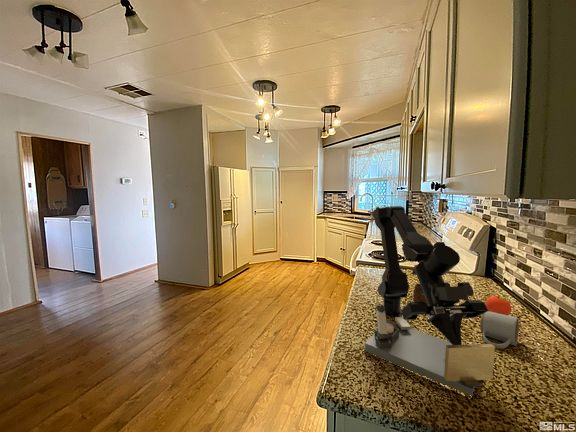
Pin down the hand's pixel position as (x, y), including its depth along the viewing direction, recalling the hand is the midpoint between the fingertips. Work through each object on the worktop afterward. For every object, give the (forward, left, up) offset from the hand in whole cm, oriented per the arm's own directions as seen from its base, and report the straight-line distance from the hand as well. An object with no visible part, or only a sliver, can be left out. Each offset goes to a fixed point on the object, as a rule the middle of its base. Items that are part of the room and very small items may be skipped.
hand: (459, 348), depth 57 cm
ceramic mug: (-27, +6, -9) cm, 29 cm away
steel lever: (+1, -17, -3) cm, 17 cm away
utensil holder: (-39, -18, -9) cm, 43 cm away
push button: (-4, -18, -5) cm, 19 cm away
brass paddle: (+2, +2, -6) cm, 7 cm away
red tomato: (-46, +5, -9) cm, 47 cm away
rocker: (-11, -16, -5) cm, 20 cm away
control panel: (-4, -9, -8) cm, 13 cm away
